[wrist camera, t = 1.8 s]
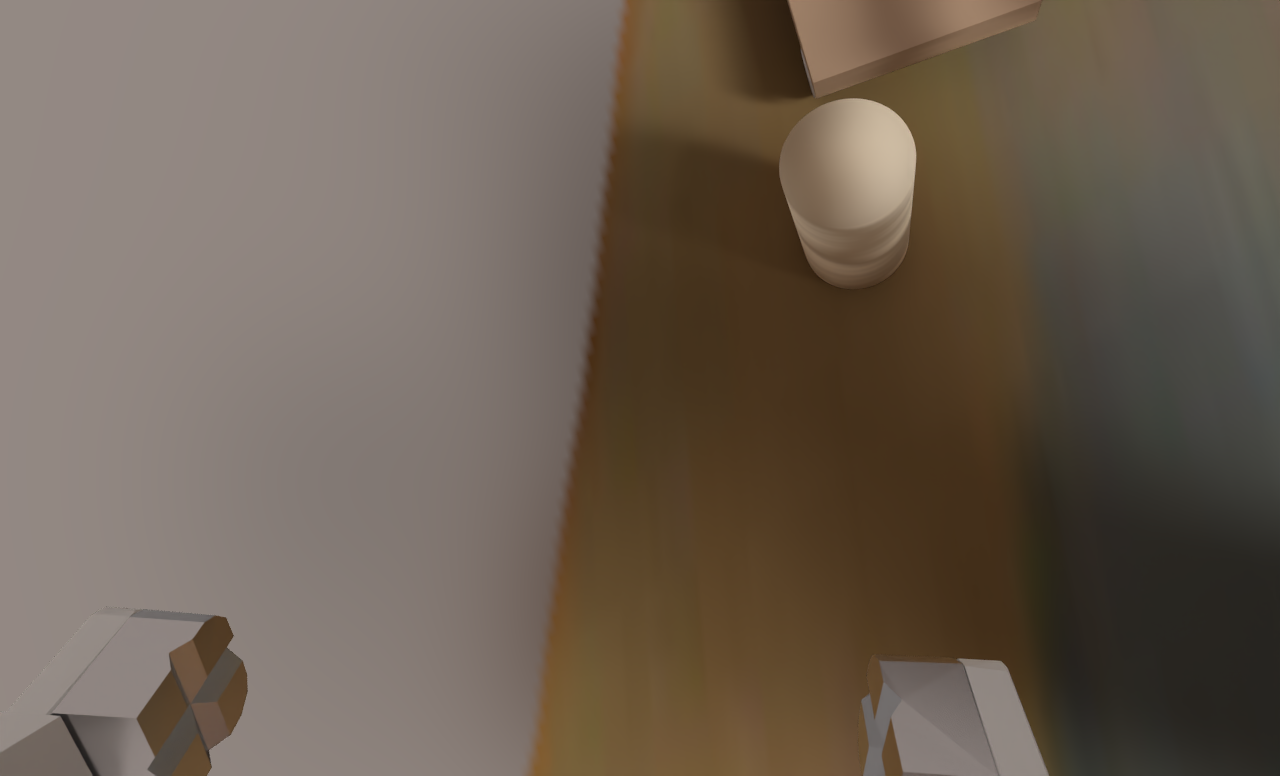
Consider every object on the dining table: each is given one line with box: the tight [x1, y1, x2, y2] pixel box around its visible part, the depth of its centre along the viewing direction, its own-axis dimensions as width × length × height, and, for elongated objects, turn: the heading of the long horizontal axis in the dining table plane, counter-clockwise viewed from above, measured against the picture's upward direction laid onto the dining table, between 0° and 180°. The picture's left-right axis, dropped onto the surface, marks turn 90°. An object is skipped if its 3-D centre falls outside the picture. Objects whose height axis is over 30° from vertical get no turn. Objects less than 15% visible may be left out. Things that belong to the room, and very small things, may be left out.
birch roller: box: [779, 98, 916, 289], centre depth 36 cm, size 5×5×10 cm
